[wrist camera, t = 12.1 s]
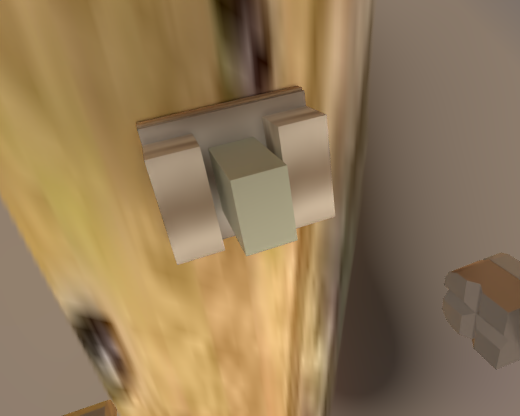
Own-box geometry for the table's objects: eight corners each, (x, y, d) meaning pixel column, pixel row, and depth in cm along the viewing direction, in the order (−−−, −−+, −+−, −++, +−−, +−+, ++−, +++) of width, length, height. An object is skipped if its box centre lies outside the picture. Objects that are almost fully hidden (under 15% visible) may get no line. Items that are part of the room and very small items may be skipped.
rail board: (135, 122, 31) (137, 139, 26) (297, 85, 34) (325, 95, 29) (174, 247, 37) (182, 279, 32) (310, 206, 39) (336, 230, 35)
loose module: (207, 148, 32) (229, 180, 25) (253, 136, 33) (287, 165, 26) (223, 213, 35) (246, 259, 28) (264, 201, 36) (298, 242, 29)
